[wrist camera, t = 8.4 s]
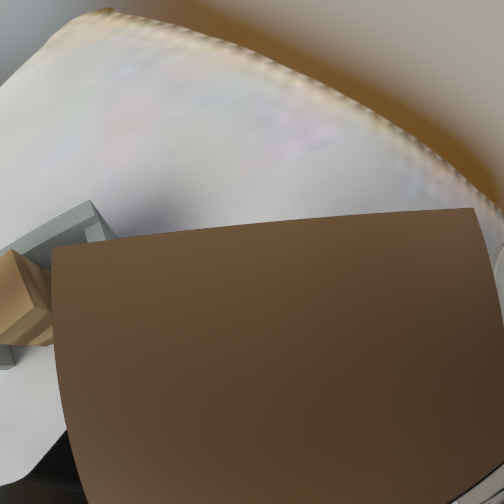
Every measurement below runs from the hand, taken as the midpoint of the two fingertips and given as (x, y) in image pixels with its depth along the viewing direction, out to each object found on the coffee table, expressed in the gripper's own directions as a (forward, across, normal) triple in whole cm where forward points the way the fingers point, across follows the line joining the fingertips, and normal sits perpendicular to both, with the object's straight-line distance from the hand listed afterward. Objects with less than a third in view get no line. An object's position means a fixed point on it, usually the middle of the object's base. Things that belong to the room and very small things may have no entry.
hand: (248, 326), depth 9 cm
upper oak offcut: (+9, +13, +5) cm, 17 cm away
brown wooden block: (+4, 0, +6) cm, 7 cm away
